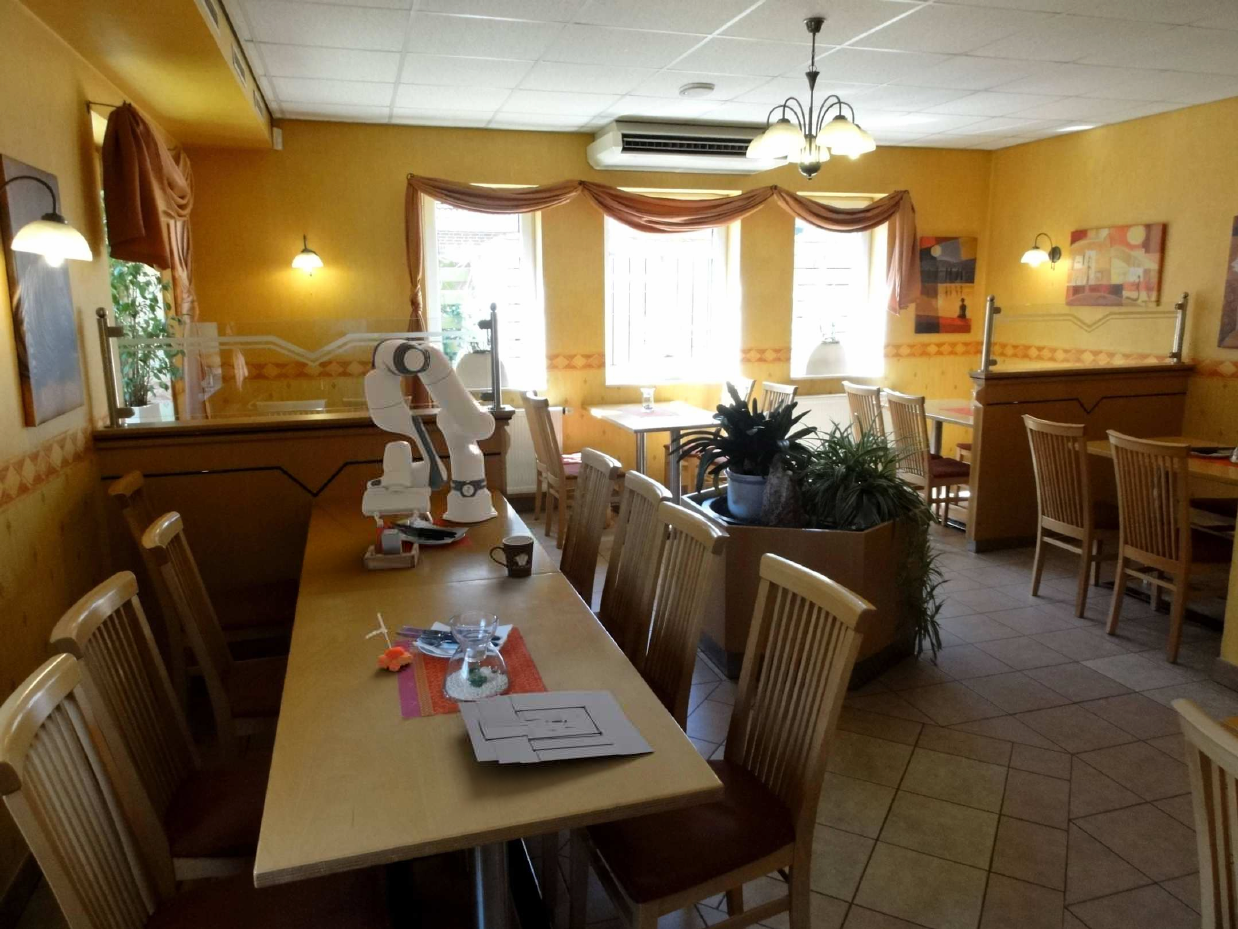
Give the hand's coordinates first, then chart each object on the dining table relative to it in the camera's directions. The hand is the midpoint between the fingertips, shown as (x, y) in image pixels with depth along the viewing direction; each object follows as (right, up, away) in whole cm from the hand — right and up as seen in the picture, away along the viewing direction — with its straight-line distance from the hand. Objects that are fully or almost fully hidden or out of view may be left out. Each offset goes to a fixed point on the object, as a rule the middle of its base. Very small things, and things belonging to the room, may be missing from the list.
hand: (396, 525), depth 254 cm
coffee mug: (+39, -12, -21) cm, 46 cm away
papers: (+56, -30, -105) cm, 122 cm away
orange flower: (+19, -25, -77) cm, 83 cm away
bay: (+1, -10, -9) cm, 13 cm away
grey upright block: (+1, -9, -9) cm, 13 cm away
